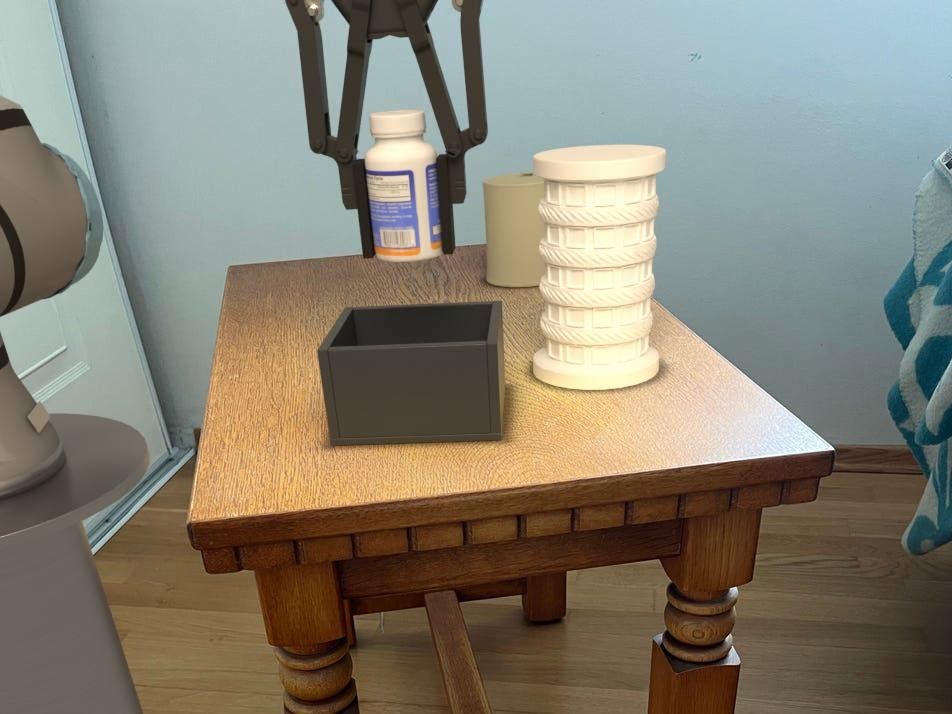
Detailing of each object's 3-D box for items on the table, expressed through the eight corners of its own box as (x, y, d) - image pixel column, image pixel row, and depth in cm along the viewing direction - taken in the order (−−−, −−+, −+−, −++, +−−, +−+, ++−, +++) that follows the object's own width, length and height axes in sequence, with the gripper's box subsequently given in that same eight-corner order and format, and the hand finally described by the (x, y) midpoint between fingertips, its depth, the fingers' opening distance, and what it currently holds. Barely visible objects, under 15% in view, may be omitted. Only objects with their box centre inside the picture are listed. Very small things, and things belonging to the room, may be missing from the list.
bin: (331, 445, 75) (316, 350, 70) (355, 393, 85) (344, 307, 81) (501, 440, 74) (497, 343, 70) (505, 387, 84) (502, 300, 80)
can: (566, 271, 121) (566, 167, 114) (549, 288, 114) (548, 179, 107) (498, 269, 124) (494, 169, 117) (477, 286, 116) (471, 180, 110)
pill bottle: (421, 245, 75) (410, 107, 70) (458, 255, 72) (449, 109, 66) (362, 257, 73) (345, 114, 68) (397, 267, 69) (382, 117, 64)
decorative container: (669, 386, 82) (683, 157, 72) (537, 393, 82) (533, 165, 72) (647, 347, 92) (657, 140, 82) (529, 354, 92) (525, 148, 82)
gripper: (520, -139, 62) (529, 237, 75) (246, -117, 63) (302, 248, 76) (519, -156, 56) (529, 257, 68) (215, -132, 57) (281, 269, 70)
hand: (409, 252), depth 72 cm, fingers closed on pill bottle, 5 cm apart
